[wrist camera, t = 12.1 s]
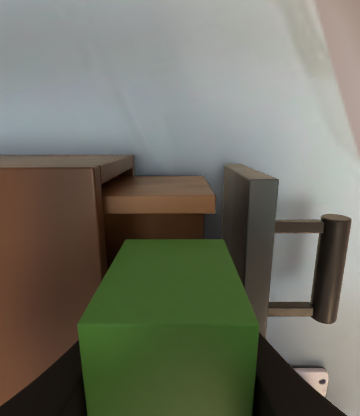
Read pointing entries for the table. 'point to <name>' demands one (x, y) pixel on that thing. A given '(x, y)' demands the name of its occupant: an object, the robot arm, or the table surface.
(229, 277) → the green rectangular box
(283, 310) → the drawer
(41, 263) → the cabinet
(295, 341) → the table surface
